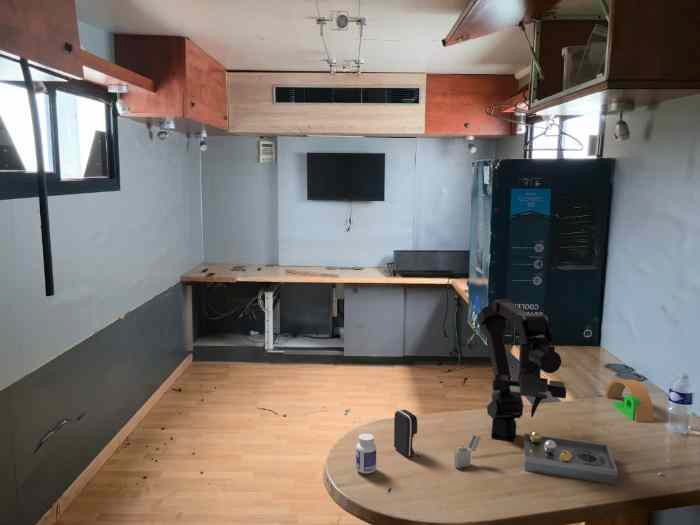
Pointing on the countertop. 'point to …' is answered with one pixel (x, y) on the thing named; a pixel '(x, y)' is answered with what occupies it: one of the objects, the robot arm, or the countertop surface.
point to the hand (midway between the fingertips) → (526, 415)
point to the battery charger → (404, 431)
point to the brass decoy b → (565, 456)
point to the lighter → (466, 452)
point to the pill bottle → (366, 454)
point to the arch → (636, 390)
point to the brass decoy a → (535, 436)
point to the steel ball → (550, 446)
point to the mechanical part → (628, 406)
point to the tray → (585, 465)
